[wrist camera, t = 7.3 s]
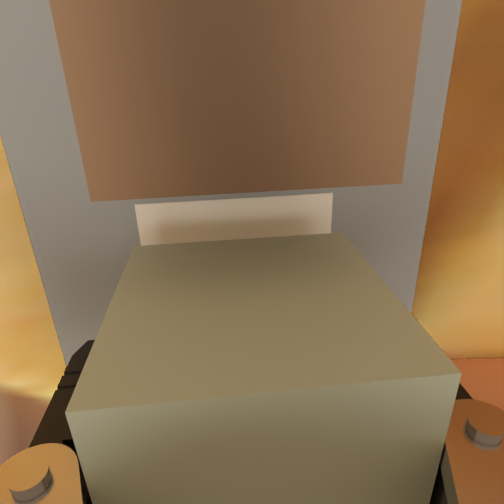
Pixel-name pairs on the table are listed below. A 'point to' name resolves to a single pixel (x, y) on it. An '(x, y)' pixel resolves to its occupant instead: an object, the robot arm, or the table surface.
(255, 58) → the walnut cube
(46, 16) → the board
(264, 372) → the sage cube
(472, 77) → the table surface
